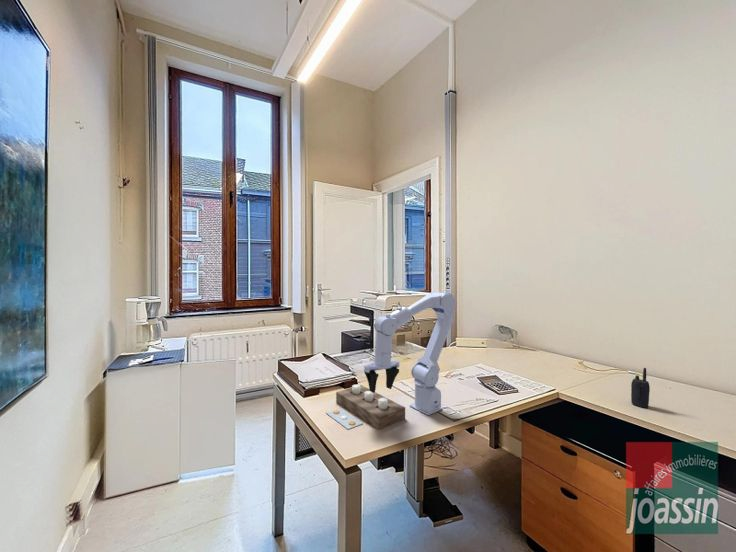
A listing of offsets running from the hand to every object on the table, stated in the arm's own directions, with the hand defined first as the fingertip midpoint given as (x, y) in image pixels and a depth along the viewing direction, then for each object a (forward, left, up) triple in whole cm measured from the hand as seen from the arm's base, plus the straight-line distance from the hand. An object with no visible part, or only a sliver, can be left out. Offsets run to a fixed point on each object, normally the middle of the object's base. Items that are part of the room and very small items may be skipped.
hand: (380, 389), depth 112 cm
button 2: (-1, 0, -7) cm, 7 cm away
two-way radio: (-53, -84, -10) cm, 100 cm away
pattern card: (+7, +11, -10) cm, 16 cm away
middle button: (+7, 0, -7) cm, 10 cm away
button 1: (+15, 0, -7) cm, 17 cm away
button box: (+7, 0, -10) cm, 12 cm away
